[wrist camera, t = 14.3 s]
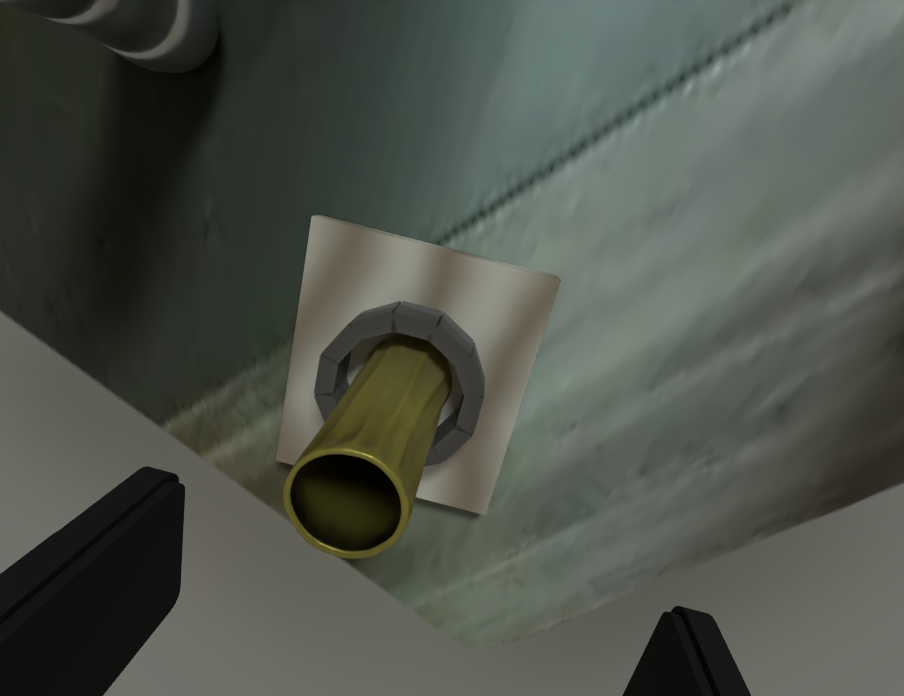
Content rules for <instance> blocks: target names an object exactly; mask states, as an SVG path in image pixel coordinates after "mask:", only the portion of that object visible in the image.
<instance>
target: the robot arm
mask: <svg viewBox="0 0 904 696" xmlns="http://www.w3.org/2000/svg"><path fill="white" fill-rule="evenodd" d="M184 501H185V487H184V485H183V484H180V483H179V478H178V476H177V475H176V474H174V473H170V472H166V471H163V470H159V469H155V468H151V467H143V468H141V469H139V470H138V471H136V472H135V473H134V474H133V475H131V476H130V477H129V478H127V479H126V480H125V481H124V482H122V483H121V484H119V485H118V486H117V487H115V488H114V489H113V490H111V491H110V492H109V493H108V494H106V495H105V496H104V497H102V498H101V499H100V500H98V501H97V502H96V503H94V504H93V505H92V506H91V507H89V508H88V509H87V510H85V511H84V512H83V513H82V514H80V515H79V516H77V517H76V518H75V519H73V520H72V521H71V522H69V523H68V524H67V525H66V526H64V527H63V528H62V529H60V530H59V531H57V532H56V533H54V534H52V535H51V536H50V537H48V538H47V539H46V540H44V541H43V542H42V543H41V544H39V545H38V546H37V547H36V548H34V549H33V550H31V551H30V552H29V553H27V554H26V555H25V556H24V557H22V558H21V559H20V560H18V561H17V562H16V563H14V564H13V565H12V566H10V567H9V568H8V569H6V570H5V571H4V572H2V573H1V574H0V696H103V695H104V693H105V692H106V691H107V690H108V688H109V687H110V686H111V685H112V683H113V682H114V681H115V680H116V678H117V677H118V676H119V675H120V673H121V672H122V671H123V670H124V668H125V667H126V666H127V665H128V663H129V662H130V661H131V660H132V658H133V657H134V656H135V655H136V653H137V652H138V651H139V650H140V648H141V647H142V646H143V645H144V643H145V642H146V641H147V639H148V638H149V637H150V636H151V634H152V633H153V632H154V631H155V630H156V628H157V627H158V626H159V624H160V623H161V622H162V621H163V620H164V618H165V617H166V616H167V615H168V613H169V612H170V611H171V609H172V608H173V606H174V605H175V603H176V600H177V598H178V596H179V593H180V583H181V564H182V563H181V562H182V543H183V522H184ZM623 696H751V694H750V692H749V690H748V688H747V686H746V684H745V682H744V680H743V678H742V676H741V674H740V672H739V670H738V667H737V665H736V663H735V661H734V659H733V657H732V655H731V653H730V651H729V649H728V647H727V644H726V642H725V640H724V638H723V637H722V634H721V632H720V630H719V628H718V626H717V624H716V622H715V620H714V619H713V617H712V616H711V615H709V614H707V613H703V612H700V611H695V610H692V609H688V608H684V607H681V606H676V607H674V608H673V609H672V611H671V612H664V613H663V614H662V616H661V618H660V620H659V622H658V624H657V626H656V628H655V630H654V632H653V634H652V636H651V638H650V640H649V642H648V644H647V646H646V648H645V651H644V653H643V655H642V657H641V659H640V661H639V663H638V665H637V667H636V669H635V671H634V673H633V675H632V677H631V679H630V681H629V683H628V685H627V688H626V690H625V692H624V694H623Z"/></svg>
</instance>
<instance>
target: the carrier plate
mask: <svg viewBox="0 0 904 696" xmlns="http://www.w3.org/2000/svg"><path fill="white" fill-rule="evenodd" d="M560 281H561V280H560V279H559V278H558V276H554V275H550V274H546V273H542V272H538V271H534V270H531V269H527V268H523V267H519V266H515V265H511V264H508V263H504V262H500V261H496V260H492V259H488V258H484V257H481V256H477V255H473V254H469V253H465V252H461V251H457V250H454V249H450V248H446V247H442V246H438V245H434V244H430V243H427V242H423V241H419V240H415V239H411V238H407V237H403V236H400V235H396V234H392V233H388V232H384V231H380V230H376V229H373V228H369V227H365V226H361V225H357V224H353V223H349V222H346V221H342V220H338V219H334V218H330V217H326V216H322V215H315V216H312V219H311V225H310V232H309V239H308V246H307V253H306V259H305V266H304V273H303V280H302V287H301V293H300V300H299V307H298V314H297V321H296V327H295V334H294V341H293V348H292V355H291V361H290V368H289V375H288V382H287V389H286V395H285V402H284V409H283V416H282V423H281V429H280V436H279V443H278V450H277V457H276V461H280V462H283V463H287V464H291V465H294V464H295V463H296V462H297V460H298V459H299V457H300V456H301V454H302V453H303V451H304V450H305V449H306V448H307V446H308V445H309V444H310V442H311V441H312V440H313V438H314V437H315V436H316V434H317V433H318V432H319V430H320V429H321V428H322V426H323V425H324V424H325V422H326V421H327V419H328V418H329V416H330V415H331V413H332V412H333V410H334V409H335V407H336V406H337V404H338V403H339V401H340V400H341V398H342V397H343V395H344V394H345V393H346V391H347V390H348V388H349V386H350V385H351V383H352V382H353V380H354V378H355V376H356V375H357V373H358V372H359V371H360V369H361V368H362V367H363V366H364V362H365V360H366V358H367V356H368V355H369V353H370V352H371V351H372V349H373V348H374V347H375V346H376V345H378V344H379V343H380V342H382V341H384V340H386V339H388V338H391V337H395V336H413V337H417V338H421V339H424V340H426V341H428V342H430V343H431V344H433V345H434V346H435V347H436V348H437V349H438V350H439V351H440V352H441V353H442V354H443V355H444V357H445V358H446V360H447V362H448V364H449V367H450V371H451V375H452V389H451V392H450V395H449V397H448V399H447V401H446V402H445V404H444V406H443V407H442V411H441V414H440V419H439V423H438V425H437V429H436V432H435V436H434V438H433V441H432V444H431V447H430V449H429V452H428V455H427V458H426V461H425V464H424V468H423V472H422V476H421V480H420V483H419V487H418V490H417V494H416V497H417V498H421V499H425V500H429V501H432V502H436V503H440V504H444V505H448V506H451V507H455V508H459V509H463V510H467V511H471V512H474V513H478V514H482V515H486V512H487V509H488V506H489V503H490V500H491V497H492V494H493V490H494V487H495V484H496V481H497V478H498V475H499V472H500V468H501V465H502V462H503V459H504V456H505V453H506V450H507V447H508V443H509V440H510V437H511V434H512V431H513V428H514V425H515V422H516V418H517V415H518V412H519V409H520V406H521V403H522V400H523V397H524V393H525V390H526V387H527V384H528V381H529V378H530V375H531V372H532V368H533V365H534V362H535V359H536V356H537V353H538V350H539V347H540V343H541V340H542V337H543V334H544V331H545V328H546V325H547V322H548V318H549V315H550V312H551V309H552V306H553V303H554V300H555V297H556V293H557V290H558V287H559V284H560Z"/></svg>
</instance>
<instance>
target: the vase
mask: <svg viewBox="0 0 904 696" xmlns="http://www.w3.org/2000/svg"><path fill="white" fill-rule="evenodd" d="M451 389H452V375H451V371H450V367H449V364H448V362H447V360H446V358H445V357H444V355H443V354H442V353H441V352H440V351H439V350H438V349H437V348H436V347H435V346H434V345H433V344H431V343H430V342H428V341H426V340H424V339H421V338H417V337H413V336H395V337H391V338H388V339H386V340H384V341H382V342H380V343H379V344H378V345H376V346H375V347H374V348H373V349H372V351H371V352H370V353H369V355H368V356H367V358H366V360H365V362H364V366H363V367H362V368H361V369H360V371H359V372H358V373H357V375H356V376H355V378H354V380H353V382H352V383H351V385H350V386H349V388H348V390H347V391H346V393H345V394H344V395H343V397H342V398H341V400H340V401H339V403H338V404H337V406H336V407H335V409H334V410H333V412H332V413H331V415H330V416H329V418H328V419H327V421H326V422H325V424H324V425H323V426H322V428H321V429H320V430H319V432H318V433H317V434H316V436H315V437H314V438H313V440H312V441H311V442H310V444H309V445H308V446H307V448H306V449H305V450H304V451H303V453H302V454H301V456H300V457H299V459H298V460H297V462H296V463H295V464H294V466H293V468H292V470H291V471H290V473H289V475H288V477H287V480H286V482H285V486H284V490H283V497H284V505H285V509H286V511H287V513H288V516H289V518H290V520H291V522H292V524H293V526H294V527H295V529H296V530H297V532H298V533H299V534H300V535H301V536H302V537H303V538H304V539H305V540H306V541H307V542H308V543H309V544H311V545H312V546H314V547H315V548H317V549H319V550H321V551H324V552H326V553H329V554H332V555H334V556H337V557H341V558H349V559H359V558H367V557H371V556H374V555H376V554H379V553H381V552H382V551H384V550H386V549H387V548H389V547H390V546H392V545H393V544H394V543H395V542H396V541H397V540H398V539H399V538H400V537H401V535H402V533H403V531H404V529H405V527H406V525H407V523H408V521H409V519H410V517H411V513H412V509H413V506H414V501H415V497H416V494H417V490H418V487H419V483H420V480H421V476H422V472H423V468H424V464H425V461H426V458H427V455H428V452H429V449H430V447H431V444H432V441H433V438H434V436H435V432H436V429H437V425H438V423H439V419H440V414H441V411H442V407H443V406H444V404H445V402H446V401H447V399H448V397H449V395H450V392H451Z"/></svg>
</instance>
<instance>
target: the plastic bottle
mask: <svg viewBox="0 0 904 696" xmlns="http://www.w3.org/2000/svg"><path fill="white" fill-rule="evenodd" d="M0 4H2V5H6V6H10V7H13V8H16V9H19V10H22V11H25V12H28V13H31V14H35V15H38V16H41V17H45V18H48V19H50V20H53V21H56V22H59V23H62V24H64V25H66V26H69V27H71V28H73V29H75V30H77V31H79V32H81V33H83V34H85V35H87V36H89V37H91V38H93V39H95V40H97V41H99V42H101V43H102V44H104V45H105V46H107V47H108V48H109V49H111V50H112V51H114V52H115V53H117V54H119V55H120V56H122V57H124V58H125V59H127V60H129V61H131V62H132V63H134V64H136V65H138V66H140V67H143V68H145V69H148V70H152V71H158V72H167V73H184V72H188V71H191V70H194V69H195V68H197V67H199V66H200V65H202V64H203V63H204V62H205V61H206V60H207V59H208V58H209V56H210V55H211V53H212V51H213V50H214V47H215V45H216V42H217V39H218V33H219V12H218V6H217V2H216V0H0Z"/></svg>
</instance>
